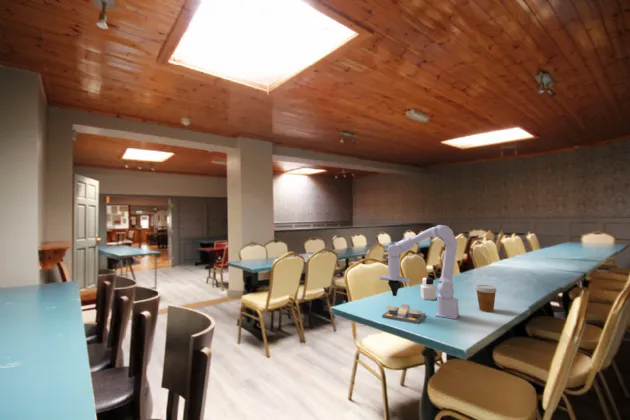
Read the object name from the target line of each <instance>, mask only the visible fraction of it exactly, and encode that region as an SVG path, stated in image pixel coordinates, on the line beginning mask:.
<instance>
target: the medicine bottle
mask: <svg viewBox="0 0 630 420" xmlns="http://www.w3.org/2000/svg"><path fill="white" fill-rule="evenodd" d="M421 280H422V281H421V282H422V284H420V297H421V298H422V299H423V300H424V301H425V300H428V301H429V300H431V301H435V300H436V301H437V289H436V287H435V286H434V279H433V278H432V277H429V276H428V277H427V276H426V277H423V278H422V279H421Z"/></svg>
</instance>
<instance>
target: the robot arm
mask: <svg viewBox="0 0 630 420" xmlns="http://www.w3.org/2000/svg"><path fill="white" fill-rule="evenodd" d="M428 238H439V240H441V241H442V242H443V243H444V245H445V249H444V255H443V260H442V261H443V263H442V268H441V275H440V277H439V280H438V283H437V284H436V287H435V288H436V292H438V293H437V294H436V301H437V302H436V303H437V304H436V305H437V312H436V313H435V314H434V315H435V317H439V318H440V317H441V318H447V319H453V320H456V319H457V318H458V317H459V315H460V314H459V313H460V311H459V299H458V297H457V298H456V297H454V294H455V291H454V282H453V276H454V275H453V274H454V269H455V268H454V267H455V263H456V262H455V261H456V255H457V249H458V241H457V238H456V237H455V235H454V231H453V230H452V228H450V227H449V226H448V225H443V224H438V225H436V226H433V227H429V228H428V229H425V230H424V231H422V232H421V233H418V234H417V235H415V236H413V237H405V236H404V237H402V239H401V240H399V241H395V242H394V244H390V245H389V246H388V247H387V251H386V252H387V253H388V255H387V256H388V257H387V258H388V260H387V264H388V266H387V267H388V269H387V270H388V275H380V277H379V280H380V281H388V282H387V283H388V286H389V287H390V290H391V294H392V296H393V297H397V296H398V291H399V288H400V285H401V283H407V284H408V283H410V278H409V277H403V276H401V260H400V254H403V253H405V252H407V251H409V250H411V249H413V248H414V247H415V244H417V243H419V242H422V241H424V240H426V239H428Z"/></svg>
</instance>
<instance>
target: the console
mask: <svg viewBox="0 0 630 420" xmlns="http://www.w3.org/2000/svg"><path fill="white" fill-rule="evenodd" d="M397 312H398V311H393V310H387V311H386V312H384V313H383V314H382V315H381V317H382V319H383V318H384V319H388V320H394V321H400V322H406V323H411V324H417V325H418V324H419V323H421V321H422V320H423V319H424V318H425V317H426V313H425V312H424V313H423V312H421V314H412V313H409V311H408V313H407V315H406V316H405V317H404V316H398V313H397Z"/></svg>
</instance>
